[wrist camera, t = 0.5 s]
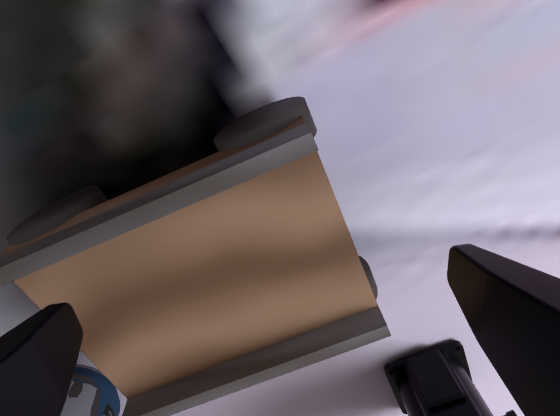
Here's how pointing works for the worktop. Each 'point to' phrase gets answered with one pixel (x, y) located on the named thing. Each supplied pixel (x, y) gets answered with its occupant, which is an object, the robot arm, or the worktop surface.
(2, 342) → the robot arm
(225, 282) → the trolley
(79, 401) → the soda can
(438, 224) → the worktop surface
